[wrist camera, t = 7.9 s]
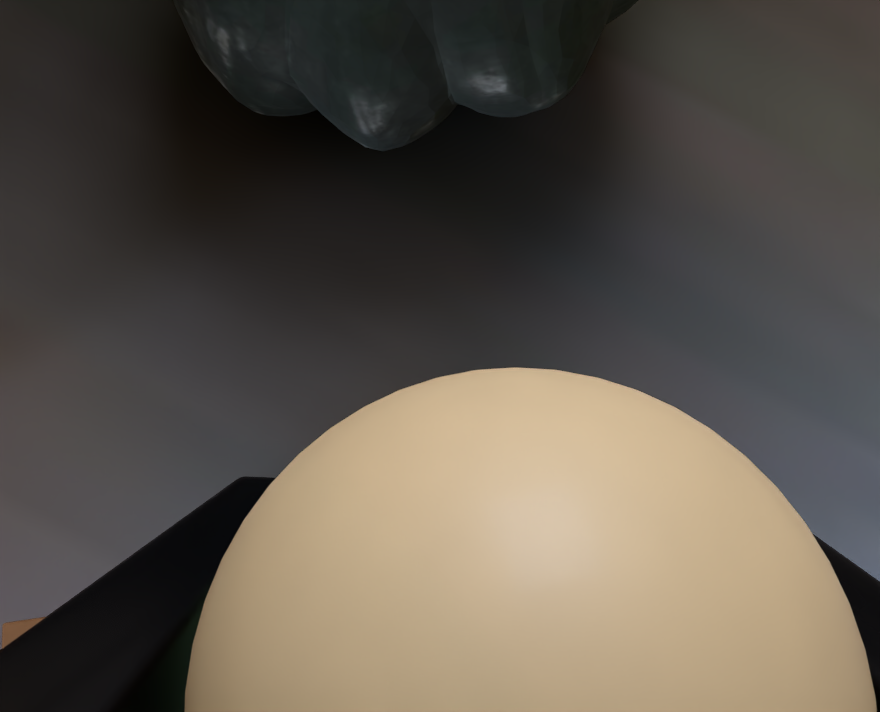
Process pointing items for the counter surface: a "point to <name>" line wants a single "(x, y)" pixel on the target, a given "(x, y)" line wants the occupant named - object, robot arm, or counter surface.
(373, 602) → the peg doll
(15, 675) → the robot arm
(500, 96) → the squash
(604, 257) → the counter surface
